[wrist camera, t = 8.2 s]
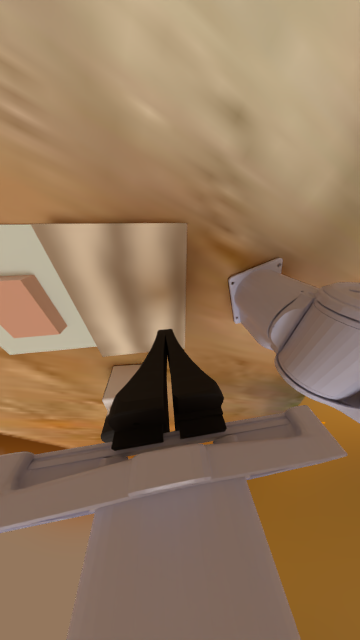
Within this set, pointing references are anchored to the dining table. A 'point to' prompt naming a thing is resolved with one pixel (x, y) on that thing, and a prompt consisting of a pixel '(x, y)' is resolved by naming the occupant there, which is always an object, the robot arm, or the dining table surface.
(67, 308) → the mat
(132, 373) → the medicine bottle
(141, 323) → the block
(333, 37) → the dining table surface
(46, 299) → the block
